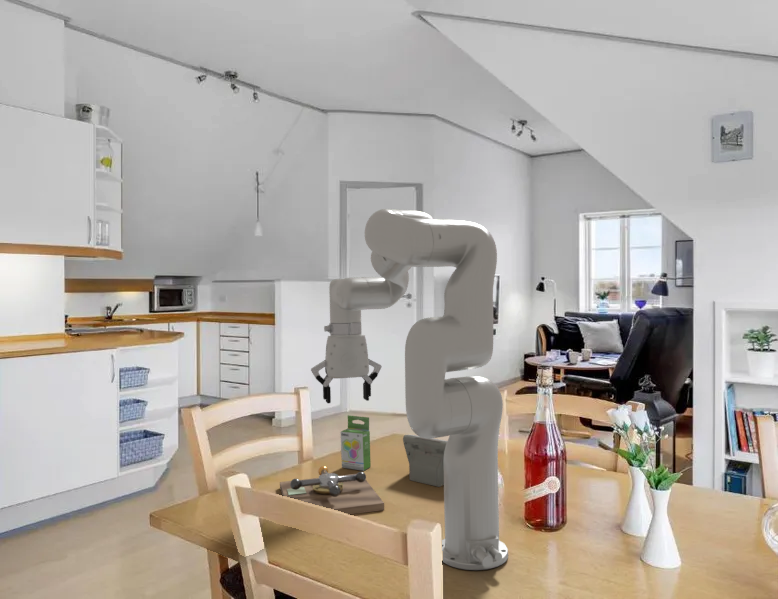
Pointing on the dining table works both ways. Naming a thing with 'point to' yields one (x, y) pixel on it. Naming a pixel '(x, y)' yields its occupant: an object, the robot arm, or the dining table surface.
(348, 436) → the ink box
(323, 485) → the capstan
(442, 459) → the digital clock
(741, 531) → the dining table surface
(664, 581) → the dining table surface
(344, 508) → the stand
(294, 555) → the dining table surface
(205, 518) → the dining table surface
